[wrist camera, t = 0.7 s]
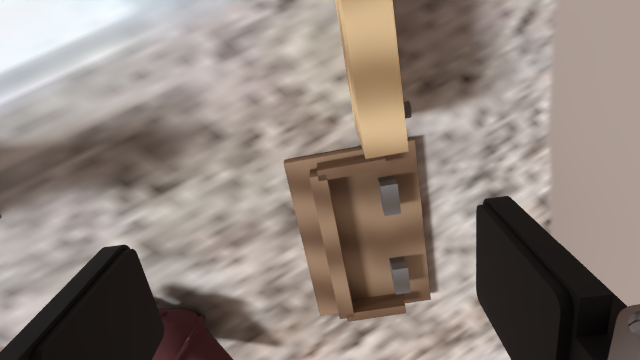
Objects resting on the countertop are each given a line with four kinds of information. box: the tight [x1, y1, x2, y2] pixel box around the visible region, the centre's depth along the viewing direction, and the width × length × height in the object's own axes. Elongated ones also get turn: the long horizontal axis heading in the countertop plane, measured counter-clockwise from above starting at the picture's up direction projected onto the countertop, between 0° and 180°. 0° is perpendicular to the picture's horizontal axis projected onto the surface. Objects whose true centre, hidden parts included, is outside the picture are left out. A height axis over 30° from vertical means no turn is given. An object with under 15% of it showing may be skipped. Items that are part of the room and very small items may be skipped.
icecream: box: [152, 308, 233, 360], centre depth 41 cm, size 7×7×15 cm
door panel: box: [335, 0, 411, 159], centre depth 29 cm, size 12×4×9 cm, turn 11°
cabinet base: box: [284, 137, 431, 322], centre depth 38 cm, size 18×12×3 cm, turn 11°
